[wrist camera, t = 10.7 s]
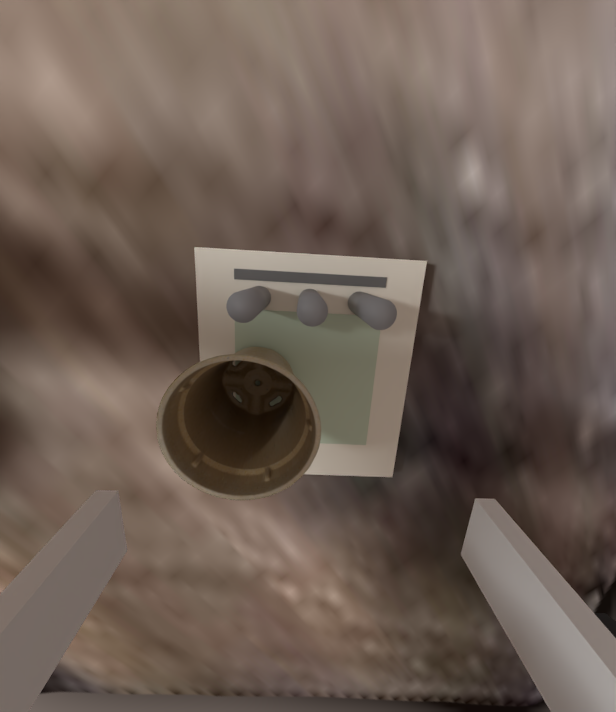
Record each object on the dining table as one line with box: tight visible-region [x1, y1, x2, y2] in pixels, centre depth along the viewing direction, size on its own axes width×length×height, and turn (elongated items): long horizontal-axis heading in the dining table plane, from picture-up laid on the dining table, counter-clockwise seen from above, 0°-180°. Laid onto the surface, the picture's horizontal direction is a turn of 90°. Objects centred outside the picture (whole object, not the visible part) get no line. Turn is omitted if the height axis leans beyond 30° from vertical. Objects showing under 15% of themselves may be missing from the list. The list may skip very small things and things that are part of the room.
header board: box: [194, 247, 427, 477], centre depth 22 cm, size 18×20×8 cm
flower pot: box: [156, 347, 321, 500], centre depth 21 cm, size 9×9×9 cm
